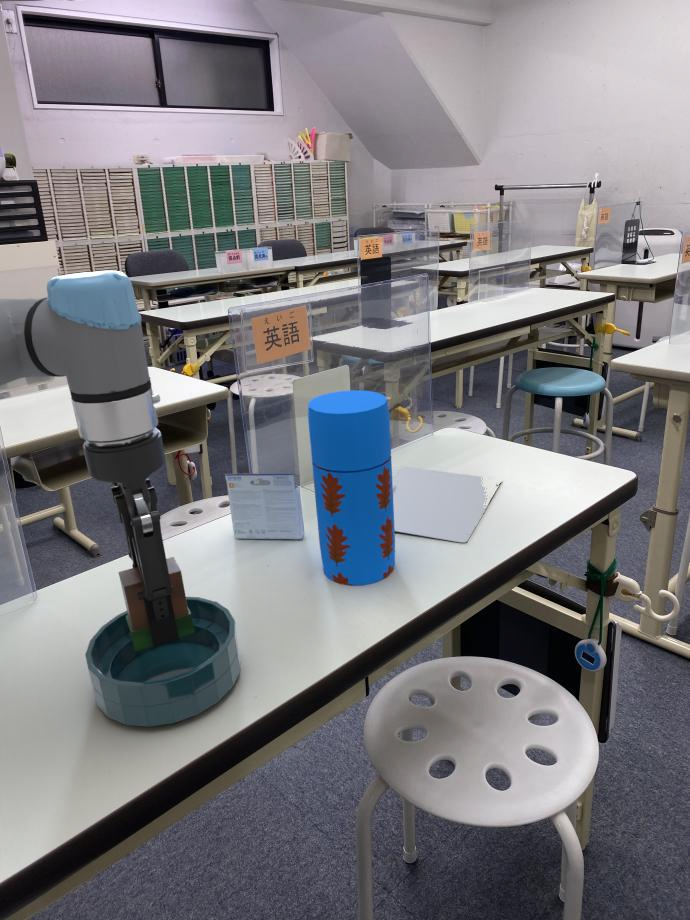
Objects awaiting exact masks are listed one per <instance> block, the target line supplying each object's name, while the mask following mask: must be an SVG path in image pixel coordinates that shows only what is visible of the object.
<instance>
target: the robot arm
mask: <svg viewBox="0 0 690 920" xmlns="http://www.w3.org/2000/svg"><path fill="white" fill-rule="evenodd" d="M134 291H135V290H134V288H133V283H132V281H131V279H130V278H129V276H128V275H127V274H125V273H123V272H122V271H119V270H98V271H97V270H95V271H89V272H88V271H87V272H86V271H85V272H76V273H67V274H63V275H57V276H55V277H52V278H50V279H49V280H48V281H47V283H46V293H47V297H36V298H34V297H33V298H32V297H31V298H30V297H29V298H27V297H26V298H0V387H1V386H4V385H6V384H9V383H11V382H13V381H17V380H19V379H23V378H24V379H25V378H31V377H32V378H34V377H53V378H54V377H55V378H60V377H62V378H63V377H66V380H67V381H66V382H67V385H68V389H69V393H70V397H71V398H70V400H71V404H72V409H73V413H74V418H75V423H76V426H77V431H78V435H79V437H80V438H81V439H83V440H85V441H84V443H83V444H82V450H83V454H84V458H85V463H86V467H87V471H88V476H90V478H91V479H92V480H94V481H96V482H99V483H104V484H111V485H113V486H112V487H110V492H111V498H112V500H113V503H114V505H115V506H116V507H115V508H116V510H117V516H118V518H119V521H120V523H121V524H122V527H123V531H124V536H125V540H126V544H127V549H128V553H127V554H128V557H129V559H130V560H131V561H132V564H131V566H132V567H131V568H135V567H138V568H139V572H140V576H141V581H142V585H143V591H142V592H138V593H137V597H138V600H142V599H144V604H145V609H146V613H147V618H148V623H149V627H150V632H151V637H152V641H153V645H154V648H155V647H158V646H161V645H164V644H167V643H171V642H174V641H177V640H179V636H178V631H177V626H176V620H175V615H174V610H173V605H172V600H171V595H170V594H172V593H173V591H172V590H173V588H172V585H171V582H170V577H169V571H168V566H167V561H166V559H167V556H166V551H165V550H166V549H165V546H164V540H163V539H164V538H163V533H162V527H161V518H162V517H161V514H160V513H159V511H158V509H157V505H158V502H159V501H158V495H157V491H156V488H155V487H154V486H152V483H151V481H150V478H149V477H150V476H151V475H153V474H156V473H157V472H159V471H161V469H163V467H164V466H165V464H166V459H167V458H166V454H165V449H164V442H163V436H162V432H161V431H160V430H159V429H158V428H157V426H158V424H159V418H158V413H157V408H156V406H155V404H159V403H160V402H161V396H160V395H159V393H154V392H153V388H152V381H151V376H150V373H149V365H148V361H147V360H148V359H147V354H146V349H145V342H144V341H145V340H144V335H143V327H142V322H143V321H142V315H141V313H140V312H139V308H138V304H137V300H136V296H135V292H134Z"/></svg>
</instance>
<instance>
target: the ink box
mask: <svg viewBox="0 0 690 920" xmlns="http://www.w3.org/2000/svg"><path fill="white" fill-rule="evenodd" d="M224 478H225V481H226V482H225V483H226V487H227V488H226V490H227V495H228V503H229V509H230V517H231V524H232V530H233V535H234V536H233V538H234V539H235V540H240V539H242V540H303V539H304V536H305V534H306V533H305V523H304V515H303V506H302V498H301V488H300V486H296V477H295V473H294V472H283V473H281V472H279V473H278V472H276V473H275V472H273V473H272V472H271V473H269V472H268V473H267V472H265V473H225V474H224ZM259 480H262V481H264V482H265V481H268V482H269V483H253V482H254V481H255V482H256V481H259Z"/></svg>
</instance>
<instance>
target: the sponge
mask: <svg viewBox="0 0 690 920" xmlns="http://www.w3.org/2000/svg"><path fill="white" fill-rule="evenodd" d="M166 561H167V566H168V571H169V577H170V582H171V585H172V588H173V590H172V591H173V593H172V594H170V595H171V600H172V605H173V610H174V615H175V620H176V626H177V631H178V636H179V637H182V636H185V635H188V634H191V633H194V626H193V621H192V615H191V612H190V610H189V608H188V606H187V601H186V597H187V596H186V590H185V585H184V580H183V574H182V570H181V568H180V566H179V564H178V562H177V561H176V558H175V557H174V556H172V557H168V558H166ZM118 577H119V582H120V585H121V590H122V595H123V599H124V600H123V601H124V603H125V608H126V611H127V613H128V615H127V616H126V620H127V624H128V629H129V633H130V636H131V639H132V643H133V646H134V649H135V651H138V650H142V649H145V648H148V647H151V646H154V645H153V641H152V637H151V632H150V627H149V623H148V618H147V613H146V609H145V604H144V599H142V600H138V597H137V593H138V592H142V591H143V585H142V581H141V576H140V572H139V568H138V567H135V568H133V567H131V568H128V569H124V570H121V571H118Z"/></svg>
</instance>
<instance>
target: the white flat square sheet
mask: <svg viewBox="0 0 690 920" xmlns="http://www.w3.org/2000/svg"><path fill="white" fill-rule="evenodd" d="M482 477H483V476H481V475H473V474H466V473H465V474H464V473H457V472H449V471H443V470H434V469H427V468H426V469H425V468H418V467H410V466H401V467H399V469H398V470H397V471H396V472H395V473H394V474H392V484H393V506H394V528H395V533H401V534H402V533H403V534H409V535H413V536H420V537H426V538H432V539H437V540H443V541H448V542H455V543H460V544H465V543H468V542H469V539H470V538H471V536H472V534H473V533H474V531H475V529H476V528H477V526H478V525H479V522H480V520H481V519H482V517H483V516H484V514H485V512H486V510H487V509H488V507H486V505H483V504H484V502H485V504H486V501H487V499H488V498H485V497H487V496H488V495H487V496H486V495H484V494H486V493H487V492H486V491H485V492H484V490H485V487H483V486H482V484H483V482H482V480H483V478H482ZM481 478H482V480H481ZM481 482H482V484H481ZM486 489H487V488H486ZM489 498H490V497H489ZM485 500H486V501H485ZM483 506H484V507H486V508H487V509H486V508H484V507H483ZM485 509H486V510H485ZM483 513H484V514H483Z"/></svg>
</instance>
